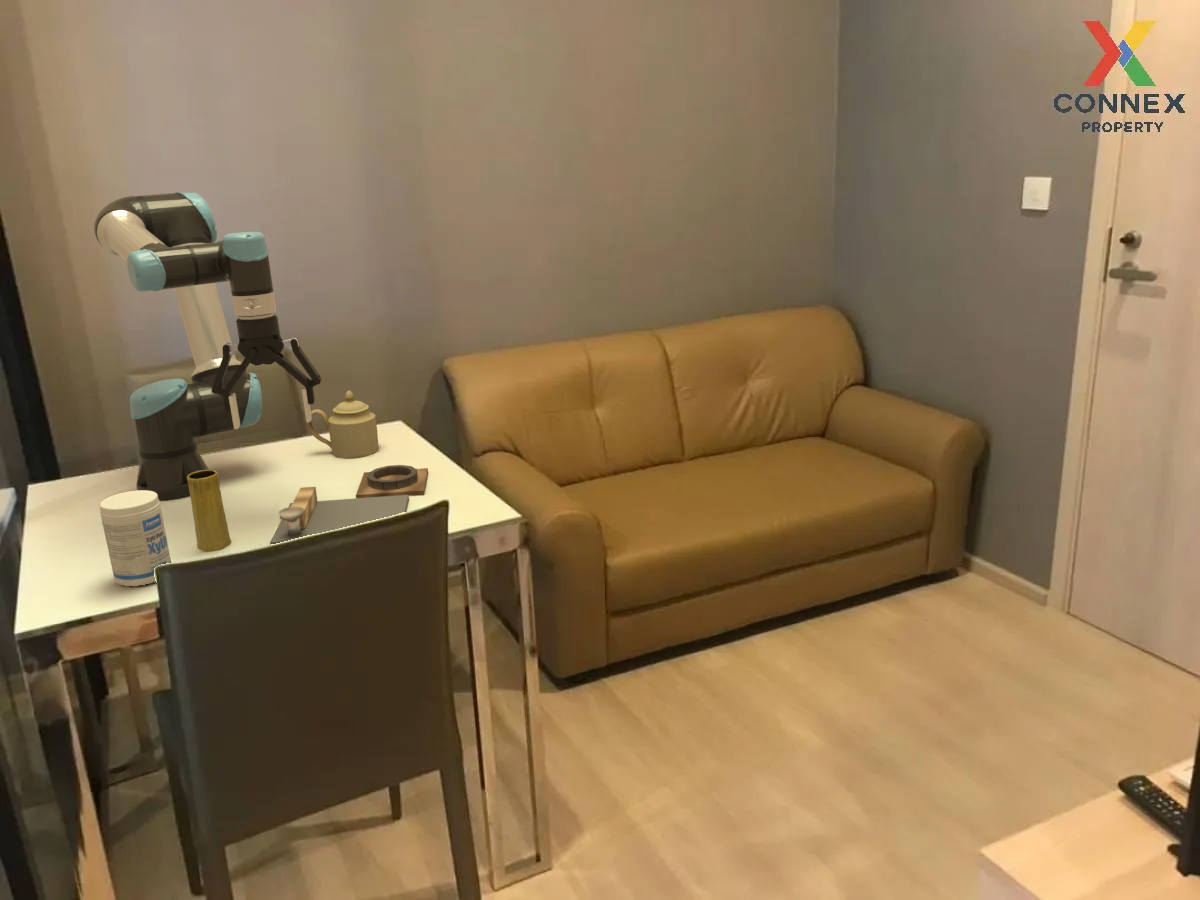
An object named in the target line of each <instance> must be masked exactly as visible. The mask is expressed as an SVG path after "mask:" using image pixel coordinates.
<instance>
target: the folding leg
mask: <svg viewBox="0 0 1200 900" xmlns="http://www.w3.org/2000/svg"><path fill="white" fill-rule="evenodd" d="M317 501H318V494H317V487H316V486H305V487H300V488H299V490H298V492H297V493H296V496H295V498H294V500H293V501H292V502H291V503H292V505H291V507H289V506H288V507H284V508H282V509H280V510H279V511H278V514H279V515H278V516H279V519H281V520H295V519H298V518H299V521H300V528H301V529H305V526H306V524H307V522H308V520H309V518H310V516H311V513H312V511H313V509H314V507H315V505H316V502H317Z"/></svg>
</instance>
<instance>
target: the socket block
mask: <svg viewBox="0 0 1200 900" xmlns="http://www.w3.org/2000/svg"><path fill="white" fill-rule="evenodd" d="M428 475H429V468H428V467H424V468H415V467H413V466H411V465H405V464H393V465H386V466H381V467H378V468H375V469H373V470H371V471H365V472H363V474H362V477H361V479H360V482H359V485H358V488H357V490H356V491H357V492H356V494H355V498H369V497H383V496H397V495H408V496H409V497H412V496H423V495H425V492H426V486H427V480H428Z"/></svg>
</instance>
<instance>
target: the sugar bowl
mask: <svg viewBox="0 0 1200 900" xmlns="http://www.w3.org/2000/svg"><path fill="white" fill-rule="evenodd" d="M354 397H355V395H354V394H353V392H352V391H351V390H347V391H346V392H345V394H344V398H345V400H346V401H342V402H340V403H339V404H337V405H336V406H335V407H333V408H332V412H334V414H333V415H332V416H330V417H328V415H327V413H325V412H324V411H323V410H321V409H313V410H311V416H312V417H313V416H315V415H319V416H321V418H322V419H323V422H324V424H325V426H326V428H327V430H328V433H329V434H328V435H329V440H328V439H327V438H325V437H324V436H321V435H320V434H319V433H318V432H317V431H316V430H315V428H314V427H313V425H312V421H311V422H306V424H307V425H306V426H307V427H308V430H309V432H310V433H311V435H313V437H314V438H315V439H317V440H318V441H319V442H321V443H323V444H324V445H326V446H329V448H330V449H331V454H332V456H334V457H337V458H339V457H340V458H341V457H342V458H341V459H357V457H359V458H363V457H368V456H371V455H373V454H375V453H377V452H378V450H379V448H380V447H379V436H378V433H379V432H378V427H377V426H378V425H377V417H376V414H375V413H374V412H371V411H370V410H369V407H370V406H369V405H368V404H366V403H364V402H363V401H360V400H353V399H354ZM340 458H339V459H340Z"/></svg>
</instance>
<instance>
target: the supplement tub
mask: <svg viewBox="0 0 1200 900" xmlns="http://www.w3.org/2000/svg"><path fill="white" fill-rule="evenodd" d="M99 508H100V518H101V522H102V527H103V531H104V537H105V541H106V545H107V551H108V555H109V561H110V565H111V570H112V574H113V578H114V581H115V582H116V583H117V584H118V585H120V586H123V585H124V586H123V587H129V586H133V587H139V586H138V585H143V586H145V585H144V584H148V585H151V584H153V583H152V582H154V583H156V582H155V577H154V568H155V567H156V566H158V565H161V564H166V563H171V564H172V559H171V553H170V550H169V549H170V548H169V544H168V537H167V533H166V527H165V523H164V517H163V512H162V506H161V500H159V499H158V495H157V493H155V492H153V491H147V490H138V491H137V490H129V491H125V492H120V493H116V494H113V495H111V496H108V497H106V498H104V499H103V500H102V501H101V502H100V503H99ZM150 583H151V584H150Z"/></svg>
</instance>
